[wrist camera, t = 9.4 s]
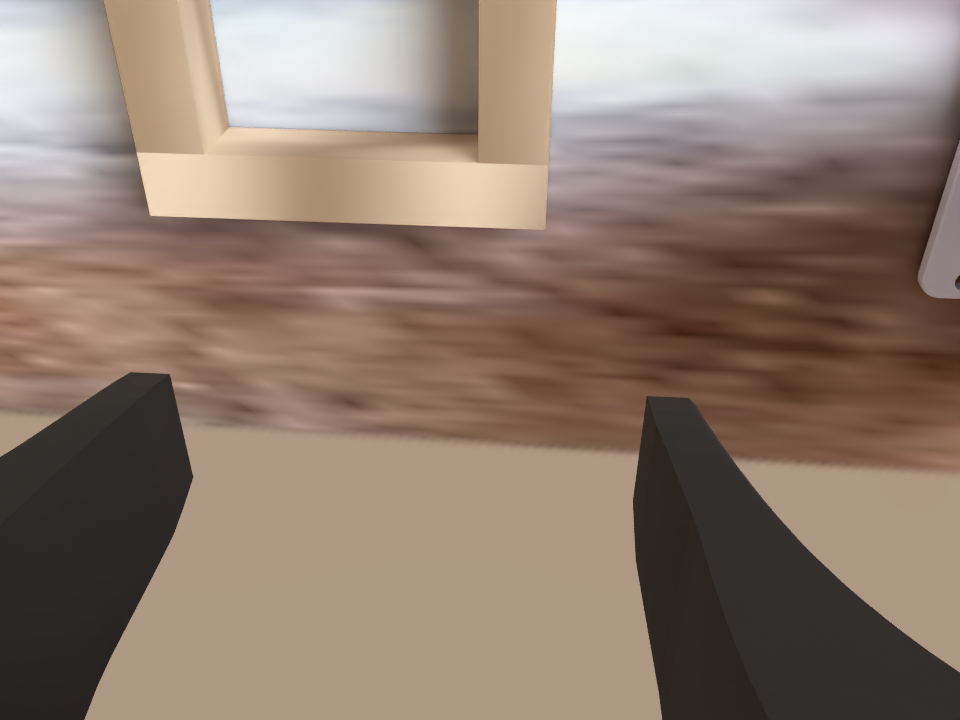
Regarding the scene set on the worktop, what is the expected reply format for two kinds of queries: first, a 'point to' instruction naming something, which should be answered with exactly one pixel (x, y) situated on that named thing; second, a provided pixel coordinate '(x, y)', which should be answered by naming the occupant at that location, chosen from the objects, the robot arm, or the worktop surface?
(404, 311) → the worktop surface
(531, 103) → the pocket block
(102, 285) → the worktop surface
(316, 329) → the worktop surface
